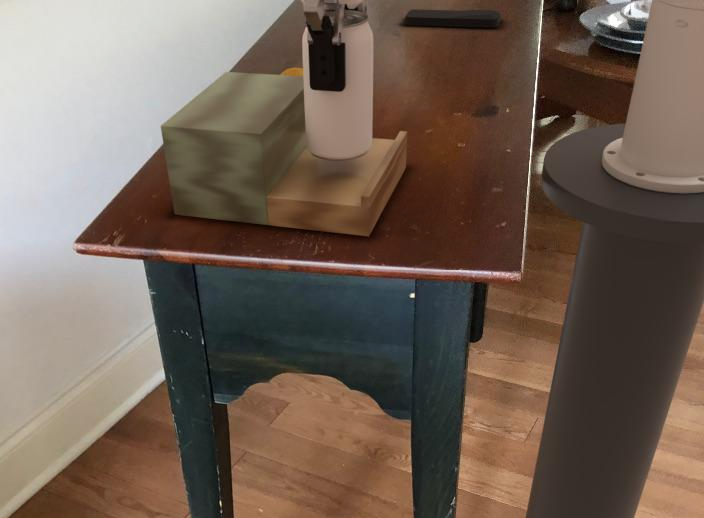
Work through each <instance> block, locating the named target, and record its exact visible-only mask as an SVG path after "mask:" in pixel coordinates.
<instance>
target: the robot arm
mask: <svg viewBox="0 0 704 518" xmlns="http://www.w3.org/2000/svg"><path fill="white" fill-rule="evenodd" d="M300 2H301V3H302V4H303V6H302V9H303V16H304V18H305V24H306V25H305V28H306V27H307V28H308V32H307V42H308V51H309V78H310V88H311V89H312V90H320V91H335V92H342V91H343V90H344V89H345V87H346V59H345V43H341V38H342V28H343V18H344V10H355V11H360V12H363V13H366V14H367V15H368V7H367V0H333V2H325V0H300ZM650 4H651V5H650V8H649V12H648V18H647V23H646V27H645V32H644V35H643V36H644V37H643V40H642V46H641V51H640V55H639V58H638V63H637V64H638V65H637V69H636V73H635V78H634V82H633V88H632V92H631V97H630V101H629V102H630V103H629V107H628V111H627V116H626V121H625V123H626V125H625V129H624V134H623V138H620V139H617V140H615V141H613V142H611V143H610V144H609V145H607V146H606V147H605V149H604V151H603V156H602V165H603V167H604V169H605V170H606V171H607V172H608V173H609V174H610V175H611V176H613V177H614V178H616V179H618V180H620V181H622V182H624V183H627V184H629V185H632V186H635V187H639V188H642V189H646V190H651V191H656V192H664V193H677V194H692V193H703V192H704V0H651V3H650ZM324 13H334V21H333V26H332V23H331V20H330V18H329V16H325V15H324Z"/></svg>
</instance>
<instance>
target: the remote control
mask: <svg viewBox="0 0 704 518" xmlns="http://www.w3.org/2000/svg"><path fill="white" fill-rule="evenodd" d="M403 24H404V25H405V26H419V27H420V26H422V27H424V26H425V27H450V28H451V27H453V28H454V27H455V28H487V29H493V28H499V26H500V24H501V13H500V11H497V10H495V9H494V10H493V9H467V10H451V9H410V10H409V11H408V12H407V13H406V14H405V18H404V22H403Z"/></svg>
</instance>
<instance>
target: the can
mask: <svg viewBox="0 0 704 518" xmlns="http://www.w3.org/2000/svg"><path fill="white" fill-rule="evenodd" d="M324 15H325V16H329V18H330V20H331V23H332V26H333V21H334V13H324ZM369 19H370V16H369V15H368V13H367V14H366V13H363V12H360V11H355V10H344V18H343V28H342V38H341V43H345V59H346V87H345V89H344V90H343V91H342V92H335V91H320V90H312V89H311V88H310V78H309V51H308V42H307V32H308V28H307V27H306V26H305V29H304V30H303V34H302V37H301V39H302V40H301V41H302V42H301V48H302V49H301V51H302V53H301V54H302V68H303V81H304V106H305V129H306V146H307V149H308V150H309V152H310V153H311V154H312V155H313V156H315V157H317V158H320V159H324V160H331V161H344V160H351V159H355V158H358V157H361V156H363V155H365V154H366V153H367V152H368V150H369V149H370V148H371V146H372V138H373V116H374V115H373V113H374V112H373V111H374V34H373V33H374V32H373V30H372V28H371V25H370V24H369Z"/></svg>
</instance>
